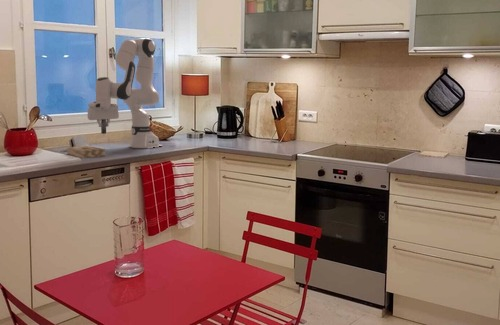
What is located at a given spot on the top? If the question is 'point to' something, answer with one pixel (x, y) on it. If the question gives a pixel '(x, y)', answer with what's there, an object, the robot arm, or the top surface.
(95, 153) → the hole block
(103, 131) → the peg
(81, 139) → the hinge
